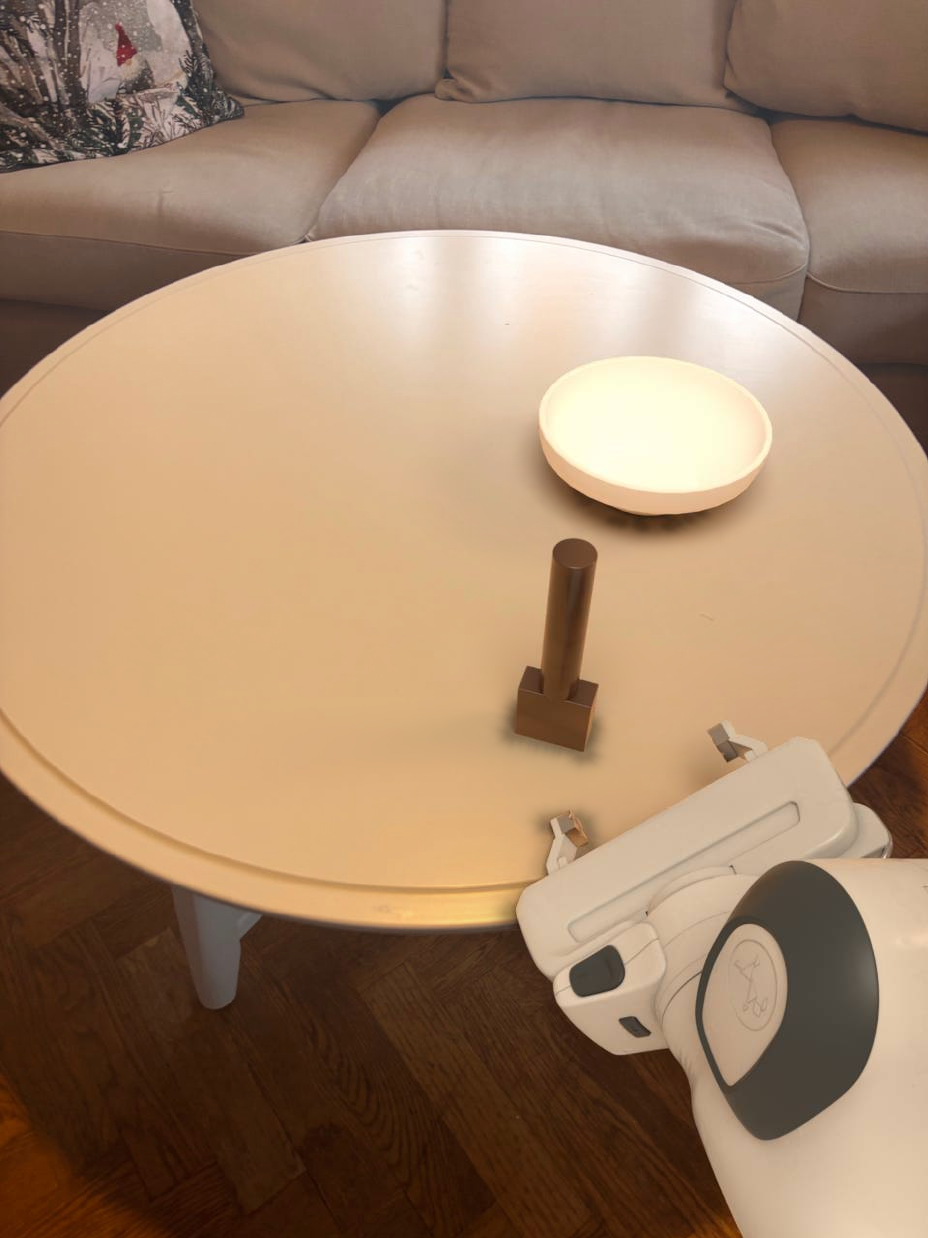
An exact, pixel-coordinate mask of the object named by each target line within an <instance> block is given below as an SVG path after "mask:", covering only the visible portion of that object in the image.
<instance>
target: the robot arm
mask: <svg viewBox="0 0 928 1238" xmlns="http://www.w3.org/2000/svg"><path fill="white" fill-rule="evenodd" d="M706 732H707V734H708V735H709V737H710V738H711V740H712V742H713V744H714V745H715V747H716V750H718V751H719V753H720V754H721V756H722V757H723V759H724V760H725V762H726V764H728V763H729V762H731V761H733V760H736V759H737V758H740V759H742V760H745V761H747V762H746V763H745V764H743V765H741V766H740V767H737V768H735V769H734V770H732V771H731V772H728V773H727V774H725V775H723V776H722V777H720V778H718V779H717V780H715V781H713V782H711V783H708V784H707V785H706V786H703V787H702V788H700V789H698V790H697V791H695V792H693V793H691V794H690V795H688V796H686V797H684V798H683V799H681V800H679V801H677V802H675V803H673V804H672V805H670V806H668V807H666V808H665V809H663V810H661V811H660V812H658V813H656V814H655V815H652V816H651V817H649V818H647V819H646V820H644V821H642V822H640V823H638V824H637V825H635V826H633V827H631V828H630V829H628V830H626V831H624V832H623V833H620V834H619V835H617V836H615V837H613V838H612V839H610V840H608V841H606V842H604V843H603V844H601V845H600V846H598V847H596V848H594V849H592V850H590V851H588V852H587V853H585V854H583V855H581V856H580V857H578V858H576V854H577V851H578V848H580V847H582V846H584V845H585V844H587V843H588V842H589V840H588V837H587V834H586V833H585V831H584V830H585V828H584V825H583V824H582V822H581V820H580V819H579V817H578V816H576V815H575V814H574V812H573V811H572V810H571V809H568V810H567V811H564V812H563V813H561V814H559V815H557V816H556V817H554V818H552V819H550V826H551V828H552V831H553V835H554V838H553V841H552V844H551V847H550V850H549V854H548V857H547V860H546V863H545V867H546V871H547V875H546V876H544V877H542V878H541V879H538V880H537V881H535V882H534V883H532V884H530V885H528V886H527V887H525V888H524V889H523V890H522V891H521V894H520V896H519V898H518V901H517V904H516V907H515V914H516V919H517V922H518V925H519V928H520V932H521V935H522V937H523V940H524V943H525V945H526V948H527V950H528V952H529V954H530V956H531V958H532V961H533V963H534V964H535V966H536V967H537V969H538V971H539V972H541V973H542V974H543V975H544V976H545V977H546V978H547V979H548V980H549V981H550V983H552V991H553V996H554V999H555V1002H556V1004H557V1005H558V1006H559V1008H560V1009H561V1011H562V1012H563V1013H564V1014H565V1016H566V1017H567V1018H568V1019H569V1020H570V1022H571V1023H572V1024H573V1025H574V1026H575V1027H576V1028H577V1029H578V1030H579V1031H581V1032H582V1034H584V1035H585V1036H586V1037H587V1038H589V1039H590V1040H592V1042H594V1043H595V1044H596V1045H598V1046H599V1047H601V1048H602V1049H604V1050H606V1051H607V1052H609V1053H611V1054H613V1055H615V1056H626V1055H627V1056H628V1055H632V1054H638V1053H645V1052H652V1051H659V1050H664V1049H669V1051H670V1052H671V1054H672V1055H673V1057H674V1058H675V1060H676V1061H677V1062H678V1064H679V1065H680V1066H681V1067H682V1069H683V1071H684V1073H685V1075H686V1077H687V1078H686V1079H687V1080H688V1084H689V1088H690V1096H691V1109H692V1110H691V1111H692V1116H693V1120H694V1124H695V1127H696V1128H697V1132H698V1135H699V1137H700V1140H701V1143H702V1145H703V1148H704V1150H705V1153H706V1155H707V1159H708V1161H709V1164H710V1166H711V1169H712V1171H713V1173H714V1176H715V1179H716V1181H717V1183H718V1186H719V1189H720V1190H721V1193H722V1195H723V1197H724V1199H725V1202H726V1204H727V1206H728V1208H729V1211H730V1213H731V1215H732V1218H733V1219H734V1222H735V1224H736V1226H737V1229H738V1230H739V1233H740V1234H741V1236H742V1238H928V858H897V857H896V858H895V857H891V855H892V852H893V848H894V841H893V837H892V834H891V832H890V830H889V829H888V828H887V826H886V825H885V824H884V822H883V821H882V820H881V818H880V816H879V815H878V814H877V812H875V811H874V810H873V809H872V808H870V807H869V806H867V805H864V804H862V803H858V802H854V799H853V798H852V796H851V793H850V792H849V790H848V788H847V787H846V785H845V783H844V781H843V779H842V777H841V776H840V774H839V772H838V770H837V768H836V767H835V765H834V764H833V762H832V760H831V759H830V757H829V756H828V754H827V752H826V750H825V749H824V748H823V746H822V744H821V743H820V742H819V741H818V740H816V739H813V738H810V737H805V736H800V735H796V736H793V737H790V738H789V739H787V740H785V741H784V742H782V743H780V744H778V745H776V746H774V747H772V748H771V749H769V748H768V746H767V745H766V743H765V742H764V741H763V740H759V739H756V738H754V737H751V736H748V735H745V734H742V733H737V731H736V729H735V728H734V726H733V725H732V723H731V722H730V720H729V719H728V718H725V719H724V720H722V721H720V722H719V723H717V724H715V725H714V726H712V727H710V728H709V729H707V730H706ZM575 858H576V859H575Z"/></svg>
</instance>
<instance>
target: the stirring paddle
mask: <svg viewBox="0 0 928 1238" xmlns="http://www.w3.org/2000/svg"><path fill="white" fill-rule="evenodd" d="M598 558H599V555H598V550H597V548H596V546H594V544H593V543H591V542H589V541H588V540H585V539H582V538H579V537H569V538H563V539H561V540H560V541H558V542H557V543H555V545H554V546H553V548H552V552H551V563H550V571H549V582H548V592H547V602H546V611H545V620H544V630H543V640H542V649H541V650H542V651H541V662H540V667H539V668H538V667H535V666H531V665H526V667H525V669H524V671H523V674H522V677H521V680H520V682H519V685H518V687H517V693H516V694H517V695H516V696H517V697H516V706H515V707H516V709H515V720H514V721H515V722H514V734H516V735H519V736H522V737H527V738H530V739H534V740H537V741H541V742H544V743H549V744H552V745H555V746H560V747H563V748H566V749H570V750H574V751H577V752H581V753H585V751H586V747H587V745H588V741H589V737H590V735H591V731H592V727H593V720H594V715H595V709H596V704H597V698H598V692H599V687H600V685H599V683H597V682H593V681H589V680H585V679H581V672H582V666H583V665H582V664H583V658H584V652H585V646H586V638H587V632H588V626H589V625H588V624H589V619H590V611H591V604H592V598H593V591H594V585H595V578H596V570H597V564H598Z"/></svg>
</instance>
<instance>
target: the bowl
mask: <svg viewBox="0 0 928 1238" xmlns="http://www.w3.org/2000/svg"><path fill="white" fill-rule="evenodd" d="M537 413H538V415H537V416H538V417H537V418H538V424H537V425H538V435H539V440H540V444H541V449H542V451H543V454H544V456H545V459H546V461H547V463H548V464H549V466H550V467H551V468H552V469H553V471H554V473H556V475H557V476H558V477H559V478H561V479H562V480H563V481H564V482H565V483H566V484H568V485H569V486H570V487H571V488H573V489H575V490H576V491H577V492H580V493H581V494H582V495H585V496H586V497H587V498H591V499H593V500H596V501H597V502H600V503H603V504H604V505H607V506H611V507H613V508H615V509H618V510H620V511H622V512H625V513H629V514H633V515H640V516H662V515H681V514H688V513H697V512H702V511H705V510H709V509H712V508H716V507H718V506H719V507H720V505H723V504H726V503H727V502H729V501H731V500H733V499H735V498H736V497H738V496H739V495H741V494H742V493H743V492H744V491H745V490H747V489H748V488H749V487H750V485H751V484H752V482H753V481H754V480H755V479H756V477H757V476H758V474H759V473H760V471H761V470H762V469H763V468H764V466H765V463H766V460H767V458H768V455H769V452H770V449H771V446H772V443H773V425H772V423H771V420H770V417H769V415H768V412H767V411H766V410H765V408H764V407H763V405H762V404H761V402H760V401H759V399H757V398H756V397H755V396H754V395H753V394H752V393H751V392H750V391H749V390H748V389H747V388H745V387H743V386H742V385H741V384H739V383H737V382H736V381H735V380H733V379H732V378H730V377H728V376H726V375H724V374H722V373H720V372H717V371H716V370H713V369H711V368H709V367H705V366H702V365H699V364H697V363H693V362H689V361H685V360H679V359H675V358H668V357H660V356H653V355H652V356H651V355H627V356H618V357H616V356H615V357H609V358H605V359H600V360H595V361H591V362H589V363H586V364H584V365H580V366H578V367H575V368H574V369H572V370H570V371H569V372H566V373H565V374H563V375H562V376H560V377H559V378H557V380H555V381H554V382H553V383H552V384H551V385H549V386H548V388H547V390H546V391H545V393H544V395H543V396H542V397H541V400H540V404H539V408H538V412H537Z"/></svg>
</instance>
